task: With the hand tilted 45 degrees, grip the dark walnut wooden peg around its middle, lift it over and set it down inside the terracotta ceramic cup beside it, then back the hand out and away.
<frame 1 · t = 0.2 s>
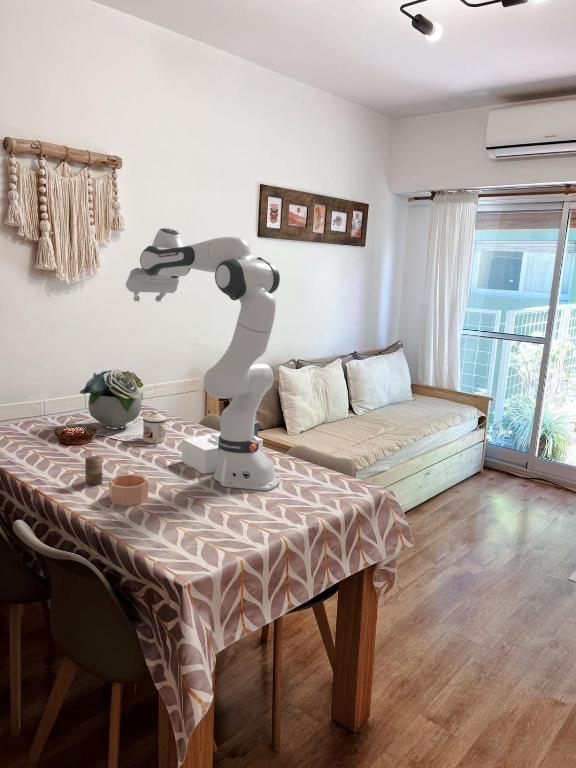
hand: (147, 300, 224), 54 cm above the table, tool tilted 30°, fingers open, 8 cm apart
peg: (93, 482, 184), on the table
cup: (128, 498, 175), on the table
flower arrangement: (115, 427, 245), on the table
flask: (249, 445, 233), on the table
tissue box: (222, 462, 212), on the table
teacup with lid: (156, 441, 230), on the table
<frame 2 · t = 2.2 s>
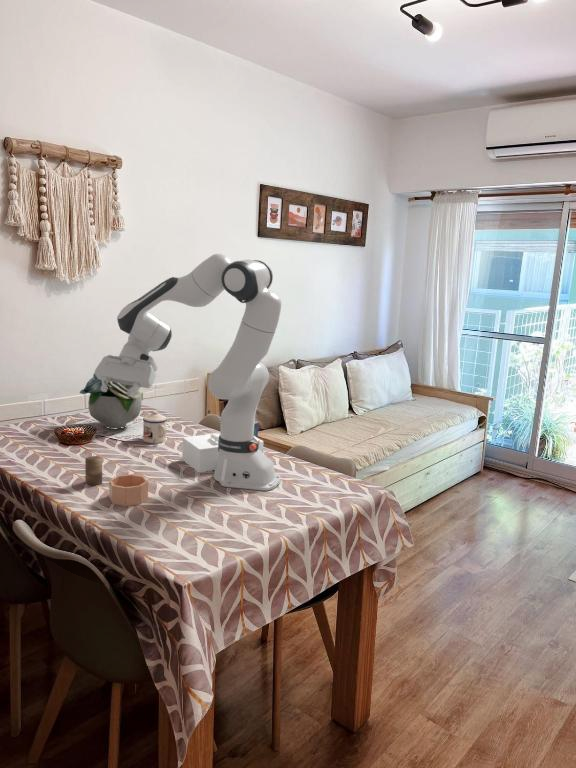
hand: (115, 393, 192), 26 cm above the table, tool tilted 45°, fingers open, 8 cm apart
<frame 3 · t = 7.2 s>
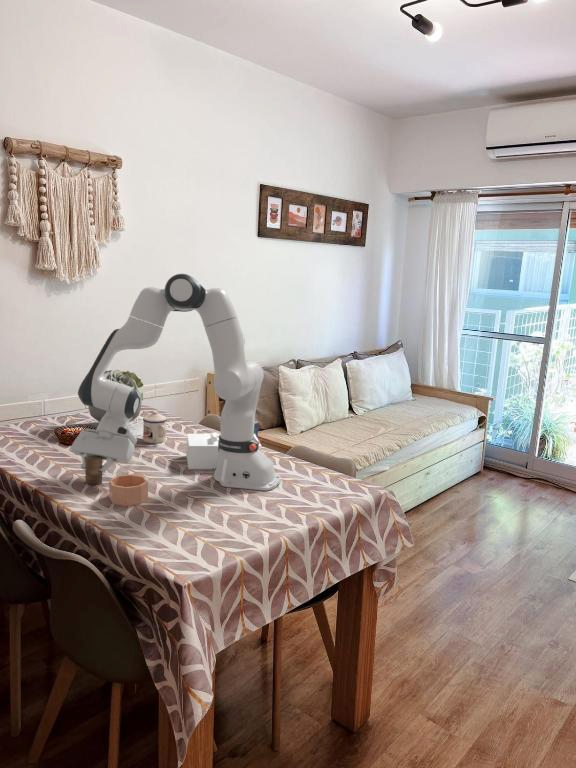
hand: (92, 470, 183), 4 cm above the table, tool tilted 45°, fingers closed on peg, 5 cm apart
peg: (93, 482, 184), on the table, touching gripper
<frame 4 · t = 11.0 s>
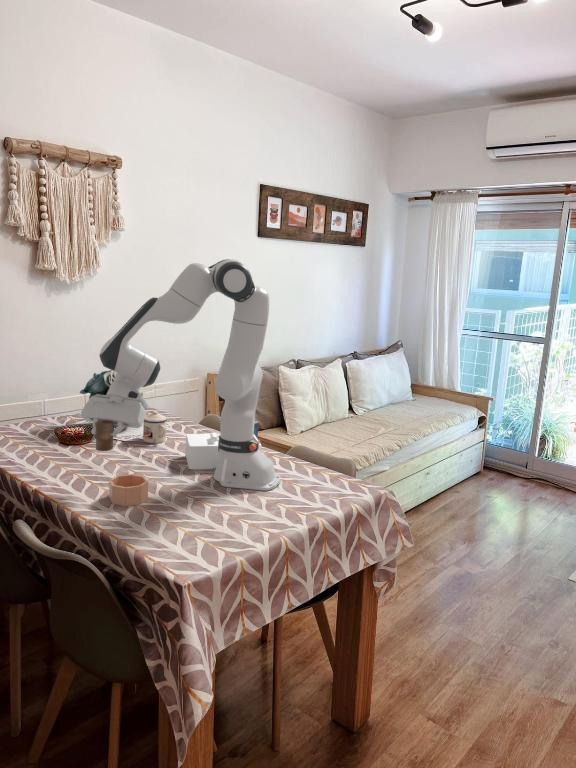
hand: (103, 435, 178), 17 cm above the table, tool tilted 45°, fingers closed on peg, 5 cm apart
peg: (104, 448, 179), point 12 cm above the table, touching gripper
when the fingers open (7 cm above the table, at t = 14.9 s): peg drops 1 cm, resting on cup.
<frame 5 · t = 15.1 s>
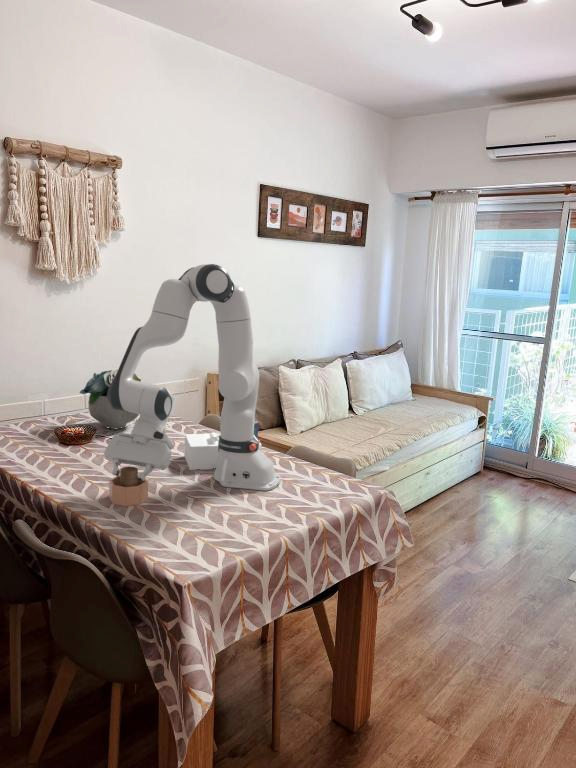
hand: (127, 477, 173), 7 cm above the table, tool tilted 45°, fingers open, 7 cm apart
peg: (128, 495, 174), point 1 cm above the table, touching cup
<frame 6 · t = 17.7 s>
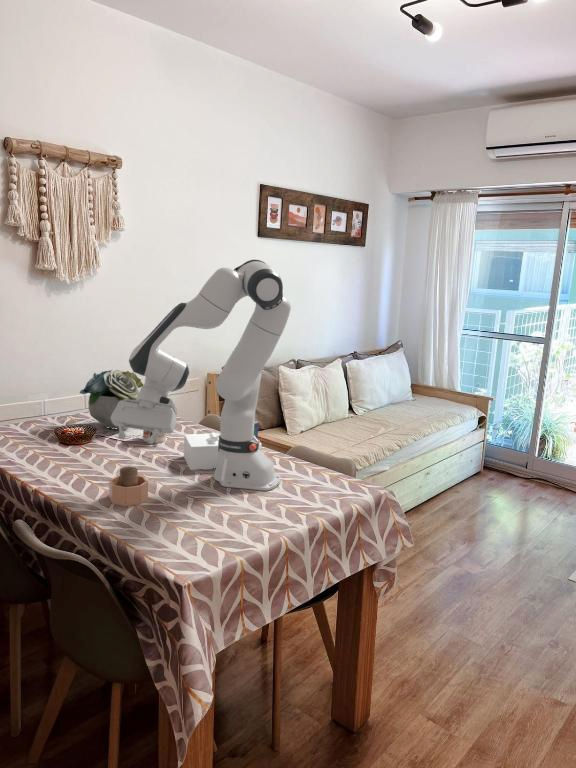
hand: (134, 440, 178), 16 cm above the table, tool tilted 45°, fingers open, 8 cm apart
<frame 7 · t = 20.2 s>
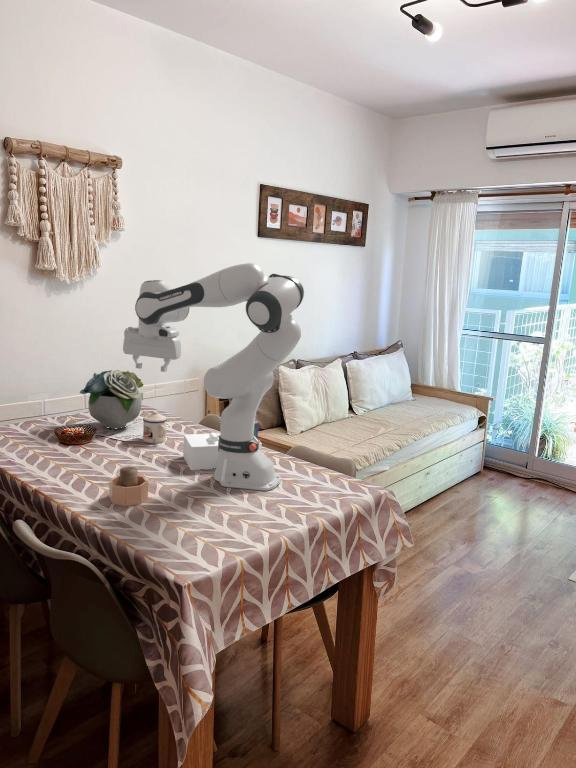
hand: (151, 369, 199), 33 cm above the table, tool pointing down, fingers open, 8 cm apart
at the end: peg 0.1 cm from the cup (horizontally); peg touching cup; peg tilted 0° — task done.
